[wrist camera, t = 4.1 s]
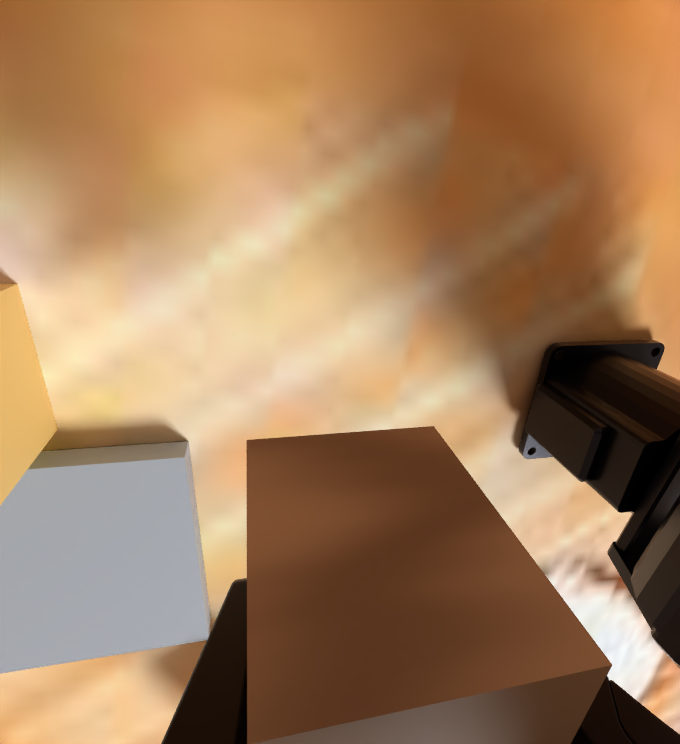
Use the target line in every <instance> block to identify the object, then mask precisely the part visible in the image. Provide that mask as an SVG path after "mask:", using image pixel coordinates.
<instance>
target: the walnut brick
mask: <svg viewBox="0 0 680 744" xmlns="http://www.w3.org/2000/svg"><path fill="white" fill-rule="evenodd" d="M611 666H612V664H611V663H610V661H609V660H608V659H607V657H606V656H605V655H604V653H603V652H602V651H601V649H600V648H599V647H598V645H597V644H596V643H595V641H594V640H593V639H592V637H591V636H590V635H589V633H588V632H587V631H586V629H585V628H584V627H583V625H582V624H581V623H580V621H579V620H578V619H577V617H576V616H575V615H574V613H573V612H572V611H571V609H570V608H569V607H568V605H567V604H566V602H565V601H564V600H563V598H562V597H561V596H560V594H559V593H558V592H557V590H556V589H555V588H554V586H553V585H552V584H551V582H550V581H549V580H548V578H547V577H546V576H545V574H544V573H543V572H542V570H541V569H540V568H539V566H538V565H537V564H536V562H535V561H534V560H533V558H532V557H531V556H530V554H529V553H528V552H527V550H526V549H525V548H524V546H523V545H522V544H521V542H520V541H519V540H518V538H517V537H516V536H515V534H514V533H513V532H512V530H511V529H510V528H509V526H508V525H507V524H506V522H505V521H504V520H503V518H502V517H501V516H500V514H499V513H498V512H497V510H496V509H495V508H494V506H493V505H492V504H491V502H490V501H489V500H488V498H487V497H486V496H485V494H484V493H483V492H482V490H481V489H480V488H479V486H478V485H477V484H476V482H475V481H474V480H473V478H472V477H471V475H470V474H469V473H468V471H467V470H466V469H465V467H464V466H463V465H462V463H461V462H460V461H459V459H458V458H457V457H456V455H455V454H454V453H453V451H452V450H451V449H450V447H449V446H448V445H447V443H446V442H445V441H444V439H443V438H442V437H441V435H440V434H439V433H438V431H437V430H436V429H435V427H434V426H431V427H417V428H404V429H390V430H377V431H363V432H350V433H336V434H323V435H309V436H296V437H282V438H269V439H255V440H247V744H571V742H572V740H573V738H574V736H575V735H576V733H577V731H578V729H579V727H580V725H581V723H582V721H583V719H584V718H585V716H586V714H587V712H588V710H589V708H590V706H591V704H592V702H593V700H594V699H595V697H596V695H597V693H598V691H599V689H600V687H601V685H602V683H603V682H604V680H605V678H606V676H607V674H608V672H609V670H610V668H611Z"/></svg>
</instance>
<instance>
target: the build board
mask: <svg viewBox="0 0 680 744" xmlns="http://www.w3.org/2000/svg"><path fill="white" fill-rule="evenodd" d="M210 622H211V617H210V609H209V601H208V593H207V585H206V577H205V569H204V561H203V554H202V546H201V538H200V530H199V522H198V514H197V506H196V498H195V491H194V483H193V475H192V467H191V459H190V451H189V443H188V441H183V442H168V443H154V444H140V445H125V446H111V447H97V448H82V449H68V450H54V451H41V452H40V453H39V455H38V456H37V457H36V459H35V460H34V461H33V463H32V464H31V465H30V467H29V468H28V469H27V471H26V472H25V473H24V475H23V476H22V477H21V479H20V480H19V481H18V483H17V484H16V485H15V487H14V488H13V489H12V491H11V492H10V493H9V495H8V496H7V497H6V499H5V500H4V501H3V503H2V504H1V505H0V673H7V672H13V671H19V670H25V669H31V668H38V667H44V666H50V665H56V664H62V663H69V662H75V661H81V660H87V659H93V658H100V657H106V656H112V655H118V654H124V653H131V652H137V651H143V650H149V649H155V648H162V647H168V646H174V645H180V644H186V643H193V642H199V641H205V640H207V639H208V637H209V634H210Z"/></svg>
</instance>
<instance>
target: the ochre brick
mask: <svg viewBox="0 0 680 744" xmlns="http://www.w3.org/2000/svg"><path fill="white" fill-rule="evenodd" d="M57 429H58V428H57V424H56V421H55V417H54V414H53V410H52V406H51V403H50V399H49V396H48V392H47V388H46V385H45V381H44V378H43V374H42V370H41V367H40V363H39V360H38V356H37V352H36V349H35V345H34V342H33V338H32V334H31V331H30V327H29V324H28V320H27V316H26V313H25V309H24V306H23V302H22V298H21V295H20V291H19V288H18V284H0V505H1V504H2V503H3V501H4V500H5V499H6V497H7V496H8V495H9V493H10V492H11V491H12V489H13V488H14V487H15V485H16V484H17V483H18V481H19V480H20V479H21V477H22V476H23V475H24V473H25V472H26V471H27V469H28V468H29V467H30V465H31V464H32V463H33V461H34V460H35V459H36V457H37V456H38V455H39V453H40V452H41V451H42V449H43V448H44V447H45V445H46V444H47V443H48V441H49V440H50V439H51V437H52V436H53V435H54V433H55V432H56V431H57Z"/></svg>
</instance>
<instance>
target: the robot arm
mask: <svg viewBox="0 0 680 744" xmlns="http://www.w3.org/2000/svg"><path fill="white" fill-rule="evenodd" d="M558 351H559V353H558V355H557V356H556V357H555V355H556V353H557V352H558ZM663 352H664V345H663V344H662V343H660V342H657V341H655V340H635V341H602V342H569V343H554V344H552V345H550V346H549V347H548V348H547V350H546V352H545V355H544V358H543V362H542V366H541V369H540V373H539V377H538V380H537V384H536V388H535V391H534V395H533V399H532V402H531V406H530V410H529V413H528V417H527V420H526V424H525V428H524V431H523V435H522V439H521V442H520V446H519V452H520V453H521V454H522V455H523V456H524V457H525V458H526V459H535V458H546V457H554V458H555V459H556V460H557V461H558V462H559V463H560V464H561V465H563V466H564V467H565V468H566V469H567V470H568V471H569V472H570V473H571V474H572V475H573V476H574V477H576V478H577V479H578V480H579V481H581V482H586V483H587V484H588V485H590V486H591V487H592V488H593V489H594V490H595V491H596V492H597V493H598V494H599V495H601V496H602V497H603V498H604V499H605V500H606V501H607V502H608V503H609V504H611V505H612V506H613V507H614V508H615V509H616V510H617V511H618V512H621V513H622V512H631V513H632V515H631V517H630V519H629V521H628V522H627V524H626V526H625V527H624V529H623V531H622V533H621V534H620V536H619V538H618V539H617V541H616V542H613V543H612V545H611V546H610V548H609V550H608V552H607V553H608V555H609V557H610V559H611V560H612V562H613V564H614V565H615V567H616V569H617V571H618V572H619V574H620V576H621V578H622V579H623V581H624V583H625V585H626V586H627V588H628V590H629V592H630V593H631V595H632V597H633V598H634V600H635V602H636V604H637V605H638V607H639V609H640V611H641V612H642V614H643V616H644V618H645V619H646V621H647V623H648V624H649V626H650V628H651V630H652V631H651V634H652V637H653V638H654V640H655V642H656V643H657V645H658V646H659V647H660V648H661V649H662V650H663V651H664V652H665V653H666V654H667V655H668V656H669V658H670V659H671V660H672V661H673V662H674V663H675V664H676V665H677V666H678V667H679V668H680V380H678V379H676V378H674V377H671V376H669V375H667V374H665V373H663V372H661V371H659V370H657V367H658V365H659V362H660V360H661V357H662V355H663ZM530 448H531V449H530ZM161 744H247V578H244V579H237V580H235V581H234V582H233V583H232V585H231V587H230V589H229V592H228V594H227V596H226V598H225V601H224V603H223V605H222V607H221V610H220V612H219V614H218V616H217V619H216V621H215V623H214V625H213V628H212V630H211V632H210V635H209V637H208V639H207V641H206V644H205V646H204V648H203V650H202V653H201V655H200V657H199V659H198V662H197V664H196V666H195V669H194V671H193V673H192V675H191V678H190V680H189V682H188V684H187V687H186V689H185V691H184V693H183V696H182V698H181V700H180V703H179V705H178V707H177V709H176V712H175V714H174V716H173V718H172V721H171V723H170V725H169V727H168V730H167V732H166V734H165V736H164V739H163V741H162V743H161ZM571 744H680V734H678V733H677V732H676V731H674V730H673V729H672V728H670V727H669V726H668V725H666V724H665V723H664V722H663V721H661V720H660V719H659V718H658V717H656V716H655V715H654V714H653V713H651V712H650V711H649V710H648V709H646V708H645V707H644V706H643V705H641V704H640V703H639V702H638V701H636V700H635V699H634V698H633V697H632V696H630V695H629V694H628V693H627V692H626V691H624V690H623V689H622V688H621V687H620V686H618V685H617V684H616V683H615V682H614V681H612V680H610V681H609V679H608V677H607V676H606V678H605V680H604V682H603V683H602V685H601V687H600V689H599V691H598V693H597V695H596V697H595V699H594V700H593V702H592V704H591V706H590V708H589V710H588V712H587V714H586V716H585V718H584V719H583V721H582V723H581V725H580V727H579V729H578V731H577V733H576V735H575V736H574V738H573V740H572V742H571Z"/></svg>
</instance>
